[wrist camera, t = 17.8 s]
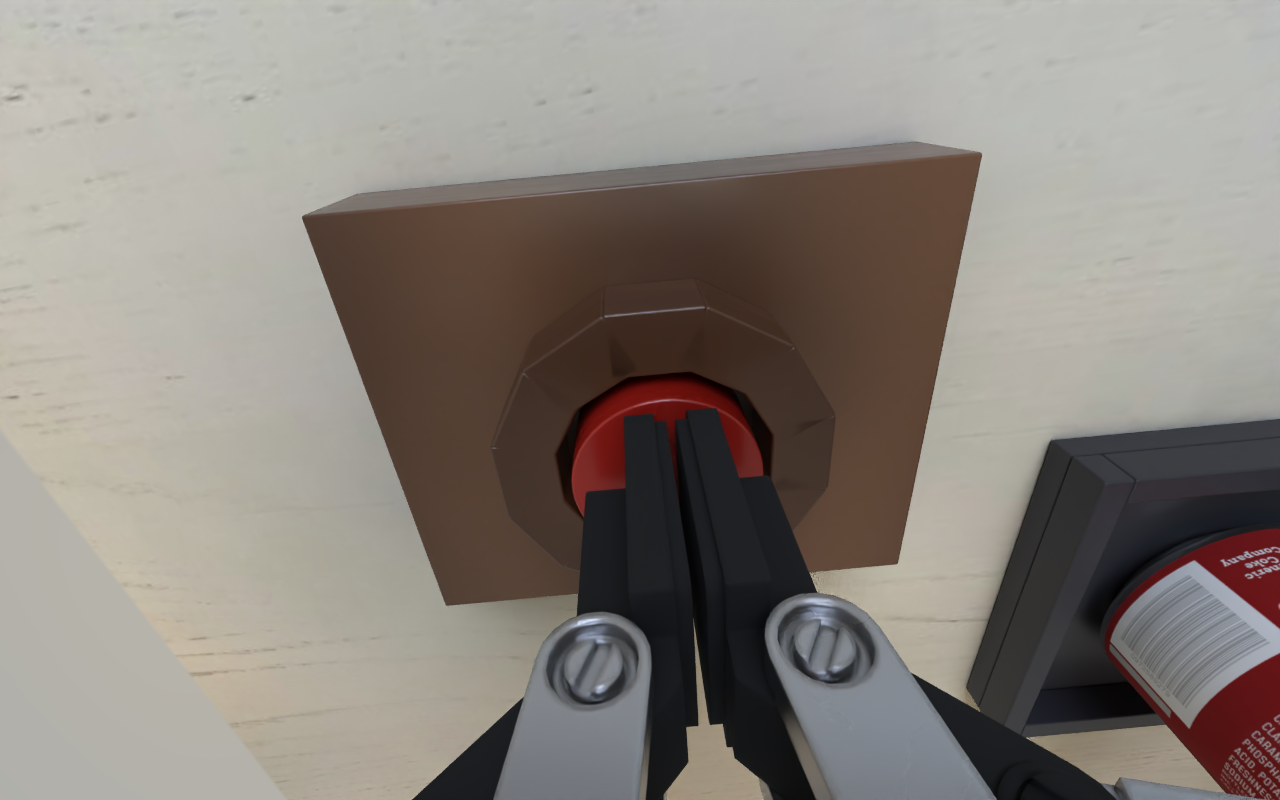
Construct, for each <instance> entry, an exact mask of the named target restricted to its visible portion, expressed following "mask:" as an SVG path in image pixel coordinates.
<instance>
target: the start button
mask: <svg viewBox="0 0 1280 800" xmlns="http://www.w3.org/2000/svg"><path fill="white" fill-rule="evenodd" d="M709 408H717V411H718V414H719V417H720V420H721V423H722V426H723V429H724V432H725V435H726V439H727V442H728V445H729V448H730V451H731V454H732V457H733V460H734V463H735V467H736V470H737V473H738V476H739V478H743V477H755V476H763V462H762V457H761V453H760V450H759V448H758V445H757V443H756V440H755V438H754V435H753V433H752V430H751V428H750V425H749V423H748V421H747V418H746V416H745V413H744V411H743V408H742V406H741V404H740V401H739V399H738V397H737V395H736V394H735V392H734V390H733V389H731V388H729V387H727V386H724V385H722V384H719V383H717V382H715V381H712V380H710V379H707V378H705V377H703V376H700V375H698V374H695V373H693V372H691V371H690V372H680V373H669V374H658V375H647V376H636V377H627V378H626V379H624V380H622V381H621V382H619V383H618V384H616V385H615V386H613V387H611V388H610V389H608V390H607V391H605V392H604V393H602V394H601V395H599V396H597V397H596V398H594V399H593V400H591V401H590V402H588V403H587V404H585V405H583V406H582V408H581V411H580V413H579V417H578V421H577V428H576V438H575V447H574V457H573V466H572V479H571V482H572V491H573V495H574V499H575V502H576V504H577V506H578V508H579V510H580V512H581V513H582V515H583V517H584V508H585V497H586V493H587V492H588V491H599V490H610V489H621V488H626V486H625V451H624V416H632V415H643V414H653V416H654V421H664V420H666V424H667V431H668V437H669V444H670V450H671V457H672V463H673V469H674V476H675V482H676V489H677V495H678V502H679V508H680V500H679V483H678V466H677V449H676V432H675V419H686V411H687V410H698V409H709Z"/></svg>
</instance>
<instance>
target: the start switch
mask: <svg viewBox="0 0 1280 800" xmlns="http://www.w3.org/2000/svg"><path fill="white" fill-rule="evenodd" d="M981 157H982V153H980V152H975V151H969V150H963V149H957V148H951V147H945V146H939V145H933V144H927V143H921V142H908V143H897V144H887V145H876V146H865V147H855V148H844V149H833V150H822V151H812V152H801V153H790V154H779V155H769V156H758V157H747V158H737V159H726V160H715V161H704V162H694V163H683V164H672V165H662V166H651V167H640V168H629V169H619V170H608V171H597V172H587V173H576V174H565V175H554V176H544V177H533V178H522V179H511V180H501V181H490V182H479V183H469V184H458V185H447V186H436V187H426V188H415V189H404V190H394V191H383V192H372V193H361V194H356V195H353V196H351V197H348V198H346V199H343V200H341V201H338V202H336V203H333V204H331V205H328V206H326V207H323V208H321V209H318V210H316V211H313V212H311V213H308V214H306V215H304V216H302V219H303V222H304V225H305V227H306V230H307V233H308V235H309V238H310V241H311V244H312V246H313V249H314V252H315V254H316V257H317V260H318V262H319V265H320V268H321V270H322V273H323V276H324V279H325V281H326V284H327V287H328V289H329V292H330V295H331V297H332V300H333V303H334V305H335V308H336V311H337V314H338V316H339V319H340V322H341V324H342V327H343V330H344V332H345V335H346V338H347V340H348V343H349V346H350V349H351V351H352V354H353V357H354V359H355V362H356V365H357V367H358V370H359V373H360V375H361V378H362V381H363V384H364V386H365V389H366V392H367V394H368V397H369V400H370V402H371V405H372V408H373V410H374V413H375V416H376V419H377V421H378V424H379V427H380V429H381V432H382V435H383V437H384V440H385V443H386V445H387V448H388V451H389V454H390V456H391V459H392V462H393V464H394V467H395V470H396V472H397V475H398V478H399V480H400V483H401V486H402V489H403V491H404V494H405V497H406V499H407V502H408V505H409V507H410V510H411V513H412V515H413V518H414V521H415V524H416V526H417V529H418V532H419V534H420V537H421V540H422V542H423V545H424V548H425V550H426V553H427V556H428V559H429V561H430V564H431V567H432V569H433V572H434V575H435V577H436V580H437V583H438V585H439V588H440V591H441V593H442V596H443V599H444V602H445V604H446V605H447V606H450V605H460V604H471V603H482V602H493V601H504V600H515V599H525V598H536V597H547V596H558V595H569V594H578V592H579V578H580V564H581V550H582V536H583V522H584V517H583V515H582V513H581V512H580V510H579V508H578V506H577V504H576V502H575V499H574V495H573V491H572V482H571V479H572V466H573V457H574V447H575V438H576V428H577V421H578V417H579V413H580V411H581V408H582V406H583V405H585V404H587V403H588V402H590V401H591V400H593V399H594V398H596V397H597V396H599V395H601V394H602V393H604V392H605V391H607V390H608V389H610V388H611V387H613V386H615V385H616V384H618V383H619V382H621V381H622V380H624V379H626V378H627V377H636V376H647V375H658V374H669V373H680V372H690V371H691V372H693V373H695V374H698V375H700V376H703V377H705V378H707V379H710V380H712V381H715V382H717V383H719V384H722V385H724V386H727V387H729V388H731V389H733V390H734V392H735V394H736V395H737V397H738V399H739V401H740V404H741V406H742V408H743V411H744V413H745V416H746V418H747V421H748V423H749V425H750V428H751V430H752V433H753V435H754V438H755V440H756V443H757V445H758V448H759V450H760V453H761V457H762V462H763V476H766V475H768V476H769V477H770V478H771V480H772V482H773V484H774V487H775V489H776V491H777V494H778V496H779V499H780V501H781V504H782V506H783V509H784V511H785V514H786V516H787V519H788V521H789V524H790V526H791V529H792V531H793V534H794V536H795V539H796V541H797V544H798V546H799V549H800V551H801V554H802V556H803V559H804V561H805V564H806V566H807V568H808V571H809V572H818V571H829V570H840V569H851V568H861V567H872V566H883V565H894V564H897V563H898V560H899V555H900V550H901V545H902V540H903V535H904V531H905V526H906V521H907V516H908V511H909V506H910V502H911V497H912V492H913V487H914V482H915V477H916V472H917V468H918V463H919V458H920V453H921V448H922V443H923V438H924V434H925V429H926V424H927V419H928V414H929V409H930V405H931V400H932V395H933V390H934V385H935V380H936V375H937V371H938V366H939V361H940V356H941V351H942V346H943V341H944V337H945V332H946V327H947V322H948V317H949V312H950V308H951V303H952V298H953V293H954V288H955V283H956V278H957V274H958V269H959V264H960V259H961V254H962V249H963V244H964V240H965V235H966V230H967V225H968V220H969V215H970V211H971V206H972V201H973V196H974V191H975V186H976V181H977V177H978V172H979V167H980V162H981Z"/></svg>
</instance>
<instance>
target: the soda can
mask: <svg viewBox="0 0 1280 800" xmlns="http://www.w3.org/2000/svg"><path fill="white" fill-rule="evenodd" d="M1100 642H1101V646H1102V649H1103V651H1104V653H1105V655H1106V656H1107V657H1108V659H1109V660H1110V661H1111V662H1112V663H1113V664H1114V666H1115V667H1116V668H1117V669H1118V670H1119V671H1120V672H1121V674H1122V675H1123V676H1124V677H1125V678H1126V679H1127V680H1128V682H1129V683H1130V684H1131V685H1132V686H1133V687H1134V688H1135V690H1136V691H1137V692H1138V693H1139V694H1140V695H1141V696H1142V698H1143V699H1144V700H1145V701H1146V702H1147V703H1148V704H1149V706H1150V707H1151V708H1152V709H1153V710H1154V711H1155V712H1156V714H1157V715H1158V716H1159V717H1160V718H1161V719H1162V720H1163V722H1164V723H1165V724H1166V725H1167V726H1168V727H1169V728H1170V730H1171V731H1172V732H1173V733H1174V734H1175V735H1176V736H1177V738H1178V739H1179V740H1180V741H1181V742H1182V743H1183V744H1184V746H1185V747H1186V748H1187V749H1188V750H1189V751H1190V752H1191V754H1192V755H1193V756H1194V757H1195V758H1196V759H1197V760H1198V762H1199V763H1200V764H1201V765H1202V766H1203V767H1204V768H1205V770H1206V771H1207V772H1208V773H1209V774H1210V775H1211V776H1212V778H1213V779H1214V780H1215V781H1216V782H1217V783H1218V785H1219V786H1220V787H1221V788H1222V789H1223V790H1224V791H1225V793H1226V794H1232V795H1239V796H1245V797H1252V798H1258V799H1265V800H1280V523H1268V524H1256V525H1248V526H1243V527H1238V528H1233V529H1229V530H1225V531H1221V532H1215V533H1210V534H1206V535H1202V536H1199V537H1196V538H1192V539H1190V540H1187V541H1184V542H1182V543H1180V544H1177V545H1175V546H1173V547H1171V548H1169V549H1167V550H1165V551H1163V552H1162V553H1160V554H1158V555H1157V556H1155V557H1154V558H1152V559H1150V560H1149V561H1148V562H1146V563H1145V564H1144V565H1142V566H1141V567H1140V568H1139V569H1138V570H1136V571H1135V572H1134V573H1133V574H1132V575H1131V576H1130V577H1129V578H1128V579H1127V581H1126V582H1125V583H1124V584H1123V586H1122V587H1121V588H1120V590H1119V592H1118V593H1117V595H1116V597H1115V599H1114V600H1113V602H1112V603H1111V605H1110V606H1109V608H1108V610H1107V612H1106V614H1105V616H1104V618H1103V621H1102V624H1101V629H1100Z"/></svg>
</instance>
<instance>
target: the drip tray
mask: <svg viewBox="0 0 1280 800" xmlns="http://www.w3.org/2000/svg"><path fill="white" fill-rule="evenodd" d="M1268 523H1280V419H1279V420H1268V421H1257V422H1246V423H1235V424H1225V425H1214V426H1203V427H1192V428H1181V429H1171V430H1160V431H1149V432H1138V433H1127V434H1116V435H1106V436H1095V437H1084V438H1073V439H1062V440H1053V441H1052V442H1051V444H1050V447H1049V450H1048V453H1047V456H1046V459H1045V462H1044V465H1043V468H1042V471H1041V473H1040V476H1039V479H1038V482H1037V485H1036V488H1035V491H1034V494H1033V497H1032V500H1031V502H1030V505H1029V508H1028V511H1027V514H1026V517H1025V520H1024V523H1023V526H1022V529H1021V532H1020V534H1019V537H1018V540H1017V543H1016V546H1015V549H1014V552H1013V555H1012V558H1011V561H1010V563H1009V566H1008V569H1007V572H1006V575H1005V578H1004V581H1003V584H1002V587H1001V590H1000V593H999V595H998V598H997V601H996V604H995V607H994V610H993V613H992V616H991V619H990V622H989V624H988V627H987V630H986V633H985V636H984V639H983V642H982V645H981V648H980V651H979V654H978V656H977V659H976V662H975V665H974V668H973V671H972V674H971V677H970V680H969V683H968V685H967V690H968V691H969V693H970V695H971V696H972V698H973V700H974V701H975V703H976V705H977V706H978V707H979V709H980V711H981V713H983V714H984V715H986V716H988V717H990V718H991V719H993V720H995V721H997V722H998V723H1000V724H1002V725H1004V726H1005V727H1007V728H1009V729H1011V730H1012V731H1014V732H1016V733H1018V734H1019V735H1021V736H1023V737H1025V738H1026V737H1037V736H1048V735H1058V734H1069V733H1080V732H1091V731H1102V730H1113V729H1124V728H1135V727H1146V726H1156V725H1166V724H1165V723H1164V722H1163V720H1162V719H1161V718H1160V717H1159V716H1158V715H1157V714H1156V712H1155V711H1154V710H1153V709H1152V708H1151V707H1150V706H1149V704H1148V703H1147V702H1146V701H1145V700H1144V699H1143V698H1142V696H1141V695H1140V694H1139V693H1138V692H1137V691H1136V690H1135V688H1134V687H1133V686H1132V685H1131V684H1130V683H1129V682H1128V680H1127V679H1126V678H1125V677H1124V676H1123V675H1122V674H1121V672H1120V671H1119V670H1118V669H1117V668H1116V667H1115V666H1114V664H1113V663H1112V662H1111V661H1110V660H1109V659H1108V657H1107V656H1106V655H1105V653H1104V651H1103V649H1102V646H1101V642H1100V629H1101V624H1102V621H1103V618H1104V616H1105V614H1106V612H1107V610H1108V608H1109V606H1110V605H1111V603H1112V602H1113V600H1114V599H1115V597H1116V595H1117V593H1118V592H1119V590H1120V588H1121V587H1122V586H1123V584H1124V583H1125V582H1126V581H1127V579H1128V578H1129V577H1130V576H1131V575H1132V574H1133V573H1134V572H1135V571H1136V570H1138V569H1139V568H1140V567H1141V566H1142V565H1144V564H1145V563H1146V562H1148V561H1149V560H1150V559H1152V558H1154V557H1155V556H1157V555H1158V554H1160V553H1162V552H1163V551H1165V550H1167V549H1169V548H1171V547H1173V546H1175V545H1177V544H1180V543H1182V542H1184V541H1187V540H1190V539H1192V538H1196V537H1199V536H1202V535H1206V534H1210V533H1215V532H1221V531H1225V530H1229V529H1233V528H1238V527H1243V526H1248V525H1256V524H1268Z"/></svg>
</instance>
